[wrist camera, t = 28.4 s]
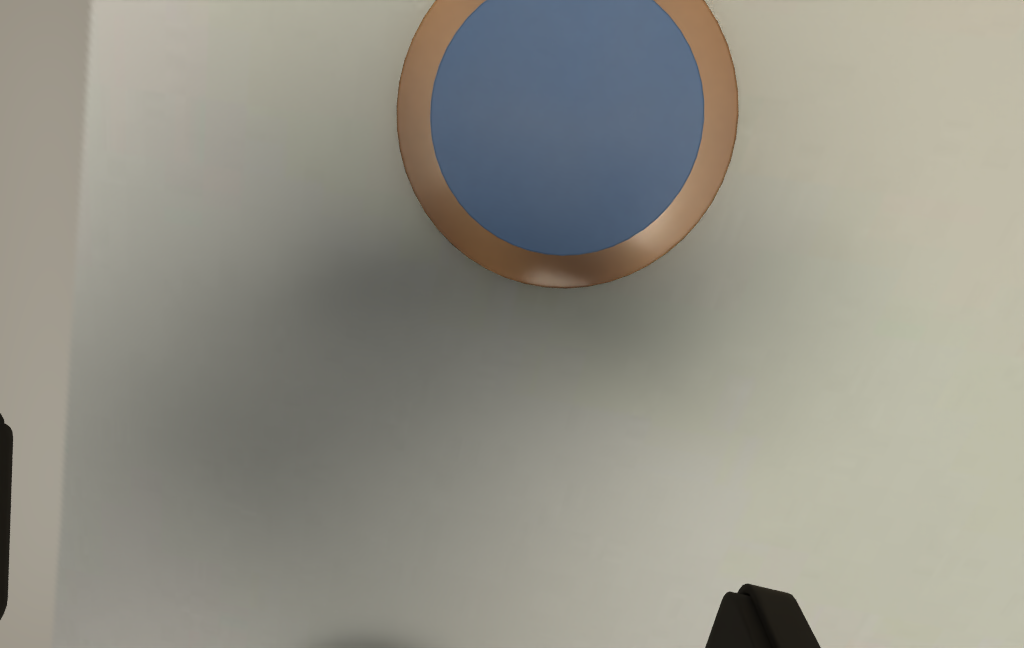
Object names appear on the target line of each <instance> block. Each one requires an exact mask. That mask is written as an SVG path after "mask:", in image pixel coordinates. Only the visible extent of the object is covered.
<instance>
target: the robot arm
mask: <svg viewBox="0 0 1024 648" xmlns="http://www.w3.org/2000/svg"><path fill="white" fill-rule="evenodd" d="M12 454H13V434H12V430H11V428H10V427H9V426H8V425H6V424H4V419H3V417H2V415H1V414H0V620H1V618H2V616H3V614H4V611H5V609H6V606H7V599H8V573H9V571H8V570H9V543H10V513H11V512H10V511H11V482H12ZM705 648H821V647H820V646H819V644H818V642H817V640H816V638H815V636H814V634H813V632H812V630H811V628H810V626H809V624H808V622H807V620H806V619H805V617H804V615H803V613H802V611H801V609H800V607H799V605H798V603H797V601H796V599H795V598H794V597H793V596H792V595H791V594H789V593H785V592H781V591H777V590H772V589H768V588H764V587H759V586H755V585H751V584H745V585H743V586H742V587H741V588H740V589H739V591H738V593H734V592H727V593H726V594H725V595H724V597H723V599H722V602H721V604H720V607H719V610H718V613H717V616H716V619H715V621H714V624H713V627H712V630H711V633H710V636H709V639H708V642H707V644H706V647H705Z"/></svg>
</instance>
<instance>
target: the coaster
mask: <svg viewBox="0 0 1024 648" xmlns="http://www.w3.org/2000/svg"><path fill="white" fill-rule="evenodd" d="M484 1H486V0H436V1H435V2H434V4H433V5H432V6H431V8H430V9H429V11H428V12H427V14H426V15H425V16H424V18H423V20H422V22H421V24H420V26H419V27H418V29H417V31H416V33H415V35H414V37H413V39H412V42H411V44H410V47H409V50H408V52H407V55H406V58H405V60H404V65H403V69H402V73H401V77H400V82H399V89H398V98H397V132H398V139H399V146H400V152H401V156H402V160H403V163H404V167H405V171H406V174H407V176H408V179H409V181H410V184H411V186H412V189H413V191H414V193H415V195H416V197H417V199H418V201H419V202H420V204H421V206H422V208H423V209H424V211H425V213H426V214H427V215H428V217H429V218H430V220H431V221H432V222H433V224H434V225H435V226H436V228H437V229H438V230H439V231H440V232H441V233H442V234H443V235H444V236H445V237H446V238H447V240H448V241H449V242H450V243H451V244H452V245H453V246H455V247H456V248H457V249H458V250H460V251H461V252H462V253H463V254H465V255H466V256H467V257H468V258H470V259H471V260H473V261H474V262H476V263H478V264H479V265H481V266H483V267H484V268H486V269H488V270H490V271H492V272H494V273H496V274H499V275H501V276H503V277H505V278H508V279H511V280H515V281H518V282H521V283H524V284H529V285H535V286H541V287H548V288H577V287H588V286H593V285H598V284H602V283H607V282H611V281H614V280H616V279H619V278H622V277H625V276H628V275H630V274H632V273H634V272H636V271H638V270H640V269H642V268H644V267H646V266H648V265H650V264H651V263H653V262H654V261H656V260H657V259H659V258H660V257H662V256H663V255H665V254H666V253H667V252H669V251H670V250H671V249H672V248H673V247H674V246H676V245H677V244H678V243H679V242H680V241H681V240H682V239H684V238H685V236H686V235H687V234H688V233H689V232H690V231H691V230H692V229H693V228H694V226H695V225H696V224H697V223H698V222H699V221H700V219H701V218H702V216H703V215H704V213H705V212H706V210H707V209H708V208H709V206H710V205H711V203H712V201H713V200H714V198H715V196H716V194H717V192H718V190H719V188H720V186H721V184H722V182H723V180H724V177H725V174H726V172H727V169H728V166H729V164H730V161H731V157H732V153H733V148H734V144H735V140H736V133H737V123H738V88H737V81H736V75H735V68H734V64H733V61H732V57H731V54H730V51H729V47H728V44H727V42H726V39H725V37H724V35H723V33H722V30H721V28H720V26H719V24H718V22H717V20H716V18H715V17H714V15H713V14H712V12H711V10H710V9H709V7H708V5H707V4H706V2H705V1H704V0H654V1H655V2H656V3H657V4H658V5H659V6H660V7H661V8H662V9H663V10H664V11H665V12H666V13H667V14H669V16H670V17H671V18H672V20H673V21H674V22H675V23H676V25H677V26H678V27H679V29H680V30H681V32H682V33H683V35H684V37H685V39H686V40H687V42H688V44H689V46H690V48H691V50H692V53H693V55H694V58H695V60H696V62H697V65H698V69H699V73H700V77H701V81H702V87H703V95H704V125H703V132H702V139H701V143H700V147H699V151H698V154H697V158H696V160H695V163H694V165H693V168H692V170H691V173H690V175H689V177H688V179H687V180H686V182H685V184H684V186H683V187H682V190H681V191H680V192H679V194H678V195H677V196H676V198H675V199H674V200H673V202H672V203H671V204H670V206H669V207H668V208H667V209H666V210H665V211H664V212H663V213H662V214H661V215H660V216H659V218H658V219H657V220H655V221H654V222H652V223H651V224H650V225H649V226H648V227H646V228H645V229H644V230H642V231H641V232H639V233H638V234H636V235H634V236H633V237H631V238H630V239H628V240H626V241H624V242H621V243H619V244H617V245H615V246H613V247H610V248H606V249H603V250H600V251H598V252H592V253H586V254H581V255H565V256H561V255H548V254H542V253H537V252H532V251H528V250H525V249H522V248H520V247H517V246H514V245H512V244H510V243H508V242H506V241H504V240H502V239H500V238H498V237H496V236H495V235H493V234H492V233H490V232H489V231H487V230H486V229H484V228H483V227H482V226H481V225H480V224H479V223H477V222H476V221H475V220H474V219H473V218H472V217H471V216H470V215H469V214H468V213H467V212H466V211H465V209H464V208H463V207H462V206H461V205H460V204H459V202H458V201H457V199H456V198H455V196H454V195H453V193H452V192H451V190H450V189H449V187H448V185H447V183H446V181H445V179H444V177H443V175H442V173H441V170H440V167H439V164H438V162H437V159H436V156H435V151H434V146H433V142H432V136H431V125H430V109H431V97H432V91H433V85H434V81H435V77H436V74H437V70H438V67H439V64H440V62H441V60H442V57H443V55H444V53H445V50H446V48H447V46H448V45H449V43H450V41H451V40H452V38H453V36H454V35H455V33H456V32H457V30H458V29H459V28H460V26H461V25H462V24H463V23H464V21H465V20H466V19H467V17H468V16H469V15H470V14H471V13H472V12H474V11H475V10H476V9H477V8H478V7H479V6H480V5H481V4H482V3H483V2H484Z"/></svg>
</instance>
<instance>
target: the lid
mask: <svg viewBox="0 0 1024 648" xmlns="http://www.w3.org/2000/svg"><path fill="white" fill-rule="evenodd" d="M430 125H431V136H432V142H433V146H434V151H435V156H436V159H437V162H438V164H439V167H440V170H441V173H442V175H443V177H444V179H445V181H446V183H447V185H448V187H449V189H450V190H451V192H452V193H453V195H454V196H455V198H456V199H457V201H458V202H459V204H460V205H461V206H462V207H463V208H464V209H465V211H466V212H467V213H468V214H469V215H470V216H471V217H472V218H473V219H474V220H475V221H476V222H477V223H479V224H480V225H481V226H482V227H483V228H484V229H486V230H487V231H489V232H490V233H492V234H493V235H495V236H496V237H498V238H500V239H502V240H504V241H506V242H508V243H510V244H512V245H514V246H517V247H520V248H522V249H525V250H528V251H532V252H537V253H542V254H548V255H561V256H565V255H581V254H586V253H592V252H598V251H600V250H603V249H606V248H610V247H613V246H615V245H617V244H619V243H621V242H624V241H626V240H628V239H630V238H631V237H633V236H634V235H636V234H638V233H639V232H641V231H642V230H644V229H645V228H646V227H648V226H649V225H650V224H651V223H652V222H654V221H655V220H657V219H658V218H659V216H660V215H661V214H662V213H663V212H664V211H665V210H666V209H667V208H668V207H669V206H670V204H671V203H672V202H673V200H674V199H675V198H676V196H677V195H678V194H679V192H680V191H681V190H682V187H683V186H684V184H685V182H686V180H687V179H688V177H689V175H690V173H691V170H692V168H693V165H694V163H695V160H696V158H697V154H698V151H699V147H700V143H701V139H702V132H703V125H704V95H703V87H702V81H701V77H700V73H699V69H698V65H697V62H696V60H695V58H694V55H693V53H692V50H691V48H690V46H689V44H688V42H687V40H686V39H685V37H684V35H683V33H682V32H681V30H680V29H679V27H678V26H677V25H676V23H675V22H674V21H673V20H672V18H671V17H670V16H669V14H667V13H666V12H665V11H664V10H663V9H662V8H661V7H660V6H659V5H658V4H657V3H656V2H655V1H654V0H486V1H484V2H483V3H482V4H481V5H480V6H479V7H478V8H477V9H476V10H475V11H474V12H472V13H471V14H470V15H469V16H468V17H467V19H466V20H465V21H464V23H463V24H462V25H461V26H460V28H459V29H458V30H457V32H456V33H455V35H454V36H453V38H452V40H451V41H450V43H449V45H448V46H447V48H446V50H445V53H444V55H443V57H442V60H441V62H440V64H439V67H438V70H437V74H436V77H435V81H434V85H433V91H432V97H431V109H430Z"/></svg>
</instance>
